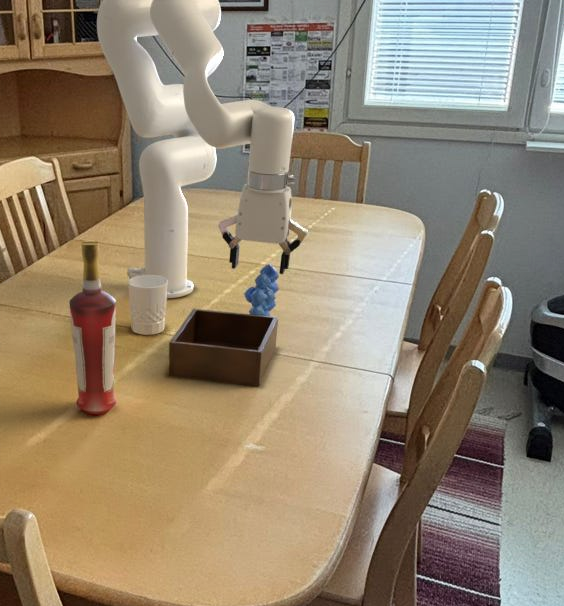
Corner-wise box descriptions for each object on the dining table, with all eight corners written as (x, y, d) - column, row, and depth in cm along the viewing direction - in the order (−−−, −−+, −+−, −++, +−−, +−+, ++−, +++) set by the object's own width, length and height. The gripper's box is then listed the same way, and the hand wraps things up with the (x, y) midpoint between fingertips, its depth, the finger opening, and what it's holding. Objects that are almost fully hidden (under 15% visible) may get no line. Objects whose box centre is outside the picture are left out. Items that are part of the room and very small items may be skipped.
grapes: (251, 312, 182) (255, 255, 175) (282, 316, 180) (287, 259, 173) (232, 330, 173) (235, 272, 167) (264, 336, 171) (269, 276, 164)
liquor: (76, 399, 148) (68, 236, 133) (119, 399, 148) (115, 235, 133) (73, 418, 142) (63, 250, 127) (117, 418, 142) (113, 249, 127)
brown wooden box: (168, 375, 156) (169, 342, 152) (192, 340, 170) (193, 308, 166) (258, 386, 152) (261, 352, 148) (275, 349, 165) (278, 316, 162)
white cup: (173, 325, 176) (173, 277, 171) (158, 338, 171) (158, 289, 165) (138, 319, 179) (137, 272, 174) (122, 333, 173) (121, 284, 168)
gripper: (316, 179, 162) (304, 268, 172) (226, 171, 166) (220, 258, 176) (310, 189, 156) (298, 280, 166) (218, 181, 160) (211, 270, 170)
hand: (258, 269), depth 171 cm, fingers open, 9 cm apart
